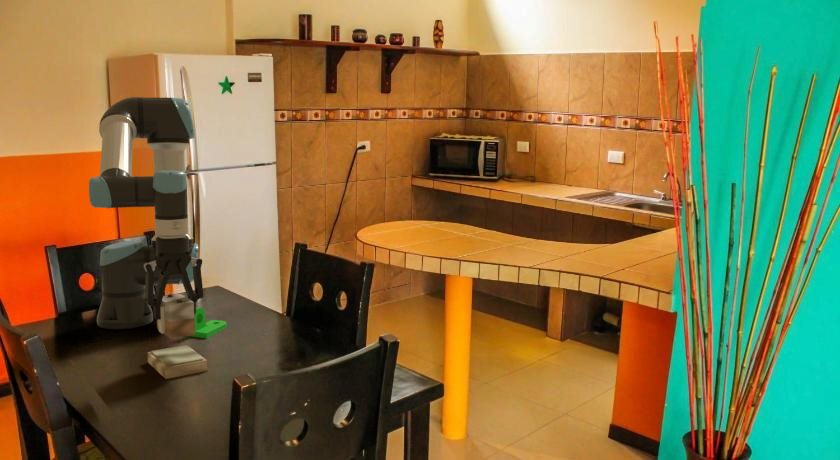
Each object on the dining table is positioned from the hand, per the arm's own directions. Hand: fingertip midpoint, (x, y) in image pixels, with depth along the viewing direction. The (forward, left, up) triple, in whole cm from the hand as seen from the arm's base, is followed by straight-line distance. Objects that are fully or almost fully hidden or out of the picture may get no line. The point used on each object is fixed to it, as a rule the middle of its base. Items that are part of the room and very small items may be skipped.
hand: (175, 329), depth 180 cm
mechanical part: (-23, +17, -10) cm, 30 cm away
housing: (0, 0, 0) cm, 0 cm away
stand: (0, 0, -9) cm, 9 cm away
